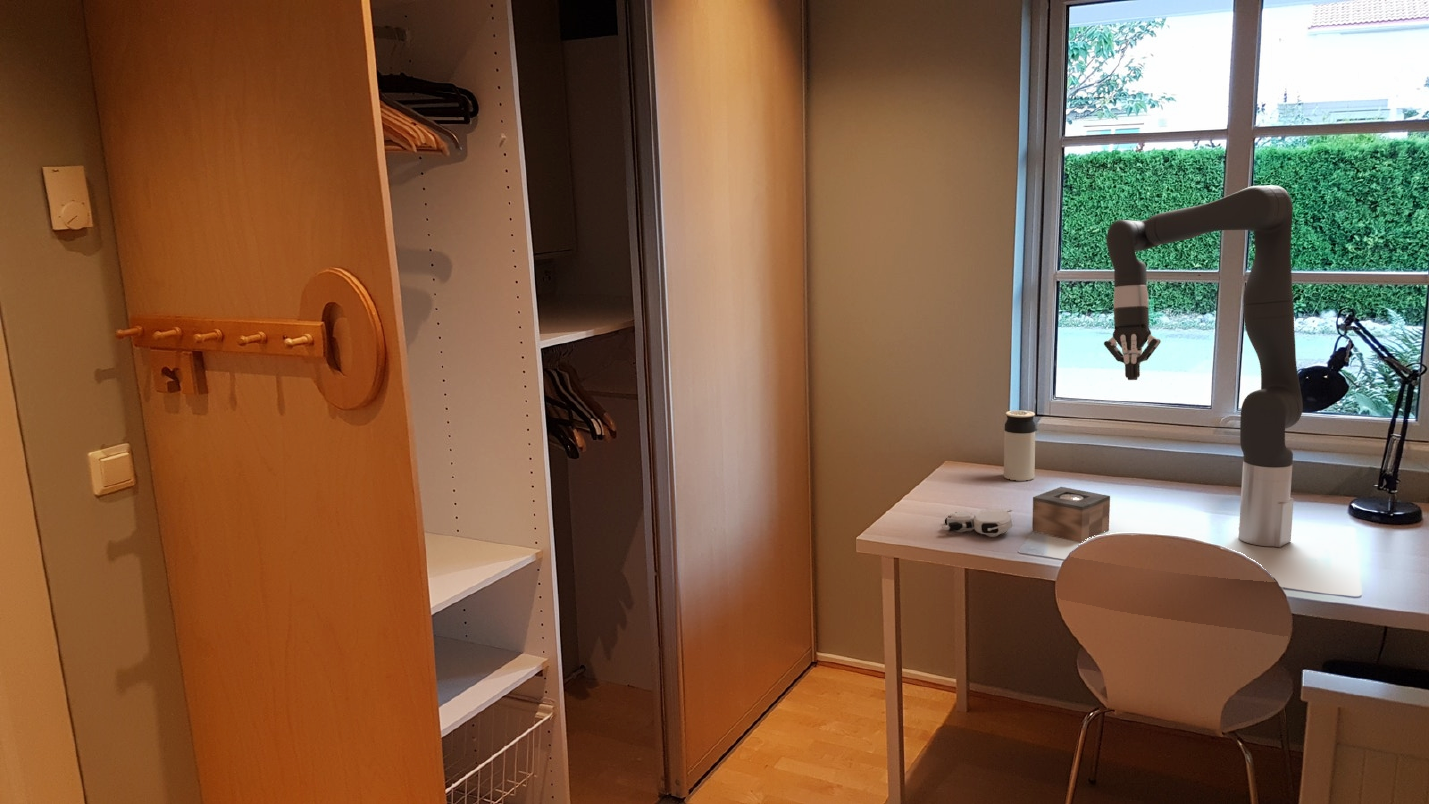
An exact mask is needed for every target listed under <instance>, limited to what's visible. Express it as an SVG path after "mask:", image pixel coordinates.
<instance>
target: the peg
mask: <svg viewBox="0 0 1429 804" xmlns="http://www.w3.org/2000/svg"><path fill="white" fill-rule="evenodd" d="M1060 498H1061V499H1066V500H1071V501H1076V502H1077V501H1079V500H1082V499H1083V497H1082V496H1079V495H1074V494H1065V495H1061V496H1060Z"/></svg>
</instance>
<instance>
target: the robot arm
mask: <svg viewBox="0 0 1429 804" xmlns="http://www.w3.org/2000/svg"><path fill="white" fill-rule="evenodd" d="M1293 209H1294V208H1293V201H1292V197H1291V195H1290V194H1289V192H1288V191H1287V190H1286V188H1283V187H1282V186H1280V185H1273V184H1272V185H1271V184H1270V185H1269V184H1268V185H1252V186H1248V187H1246V188H1244V189H1240V190H1238V191H1236V192H1234V193H1231V194H1229V195H1226V196H1225V197H1222V198H1219V199H1216V200H1213V201H1211V202H1210V201H1209V202H1207V203H1203V204H1199V205H1195V206H1190V207H1189V206H1188V207H1183V208H1179V209H1178V208H1177V209H1174V210H1170V211H1169V210H1167V211H1166V212H1164V211H1163V212H1159V213H1157V214H1154V215H1152V216H1150V217H1148V219H1143V220H1130V219H1118V220H1115V221H1114V222H1113V223H1111V225H1110V226H1109V228H1108V230H1107V233H1106V246H1107V251H1108V254H1109V258H1110V260H1111V264H1112V267H1113V270H1114V274H1113V275H1114V276H1113V278H1114V279H1113V280H1114V281H1113V282H1114V283H1113V284H1114V292H1113V323H1114V326H1113V327H1114V330H1113V333H1112V337H1111V338H1110V339H1109V340H1105V341H1104V342H1103V345H1104V346H1105V348H1106V349H1107V350H1108V351H1109V352H1110V354H1111V355H1112V356H1113V358H1114V359H1115V360H1116V361H1117V362H1120V363H1123V364H1124V372H1125V373H1124V374H1125V377H1126V379H1127V380H1128V381H1137V380H1138V378H1140V375H1141V372H1140V367H1141V366H1140V365H1141V363H1143V362H1145V361H1148V360H1149V358H1150V357H1151V356H1152V354H1153V353H1154V352H1155V350H1156V349H1157V348H1158V346H1160V344H1161V342H1162V341H1161V339H1160V338H1156V337H1155V336H1153V335H1152V331H1151V330H1150V325H1149V324H1150V321H1149V319H1150V316H1149V315H1150V312H1149V308H1150V307H1149V304H1150V300H1149V292H1148V285H1147V284H1148V283H1147V282H1148V281H1147V280H1148V278H1147V277H1148V275H1147V274H1148V273H1147V265H1146V263H1145V262H1144V261H1143V260H1139V259H1138V257H1137V253H1136V252H1139V251H1141V252H1142V251H1145V250H1149V249H1152V248H1155V247H1158V246H1160V245H1166V244H1171V243H1175V242H1181V241H1185V240H1191V239H1193V238H1196V237H1198V236H1201V235H1205V234H1209V233H1213V232H1220V231H1249V232H1250V231H1251V232H1253V235H1254V236H1253V237H1254V258H1253V263H1252V266H1251V269H1250V272H1249V275H1248V278H1247V279H1246V280H1247V281H1246V284H1245V287H1244V291H1243V295H1242V296H1243V298H1242V299H1243V300H1242V304H1243V306H1242V307H1243V319H1244V321H1243V322H1244V327H1245V331H1246V334H1247V337H1248V339H1249V341H1250V343H1251V345H1252V347H1253V349H1254V352H1255V353H1256V356H1257V358H1258V359H1257V360H1258V361H1259V368H1260V389H1258V390H1255V391H1252V392H1250V393H1249V394H1247V396H1246V397H1244V400H1243V402H1242V405H1241V409H1240V416H1239V417H1240V420H1239V421H1240V422H1239V426H1240V427H1239V429H1240V431H1239V433H1240V434H1239V435H1240V436H1239V441H1240V442H1239V443H1240V444H1239V445H1240V448H1241V451H1242V453H1243V455H1242V457H1243V459H1242V460H1243V462H1242V475H1241V491H1240V492H1241V495H1240V506H1239V507H1240V508H1239V509H1240V510H1239V524H1238V526H1239V527H1238V539H1239V540H1240V541H1242V542H1244V543H1247V544H1250V545H1254V546H1255V545H1256V546H1260V547H1276V548H1282V547H1283V546H1285V545H1286V544H1288V543H1290V542H1291V541H1292V527H1293V526H1292V525H1293V514H1294V498H1293V497H1291V491H1292V488H1291V487H1292V476H1293V474H1292V473H1293V464H1294V462H1293V461H1294V453H1293V451H1292V450H1291V449H1289V448H1288V447H1287V446H1286V429H1288V428H1291V427H1293V426H1295V425H1296V424H1297V423H1298V422H1299V421H1300V419H1301V417H1302V415H1303V410H1304V409H1303V407H1304V405H1303V395H1302V391H1301V385H1300V377H1299V374H1298V373H1299V372H1298V367H1297V358H1296V357H1297V355H1296V353H1297V352H1296V337H1295V311H1294V310H1295V308H1294V296H1293V295H1294V293H1293V292H1294V291H1293V281H1292V280H1293V279H1292V278H1293V277H1292V275H1293V274H1292V259H1291V258H1292V256H1291V246H1292V245H1291V244H1292V228H1293V211H1294V210H1293ZM1145 344H1147V346H1146V347H1145V348H1144V350H1143V347H1144V346H1145ZM1117 346H1119V347H1120V348H1121V351H1120V349H1119V348H1118V347H1117Z"/></svg>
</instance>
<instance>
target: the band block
mask: <svg viewBox="0 0 1429 804" xmlns="http://www.w3.org/2000/svg"><path fill="white" fill-rule="evenodd" d="M1065 494H1074V495H1079V496H1082V497H1083V499H1082V500H1079V501H1077V502H1076V501H1071V500H1066V499H1061V498H1060V496H1061V495H1065ZM1110 508H1111V495H1107V494H1101V493H1097V492H1091V491H1086V490H1082V489H1081V490H1080V489H1075V488H1070V487H1066V486H1059V487H1057V488H1054V489H1051V490H1048V491H1046V492H1043V493H1040V494H1038V495H1035V496H1033V497H1032V530H1031V531H1032V532H1035V533H1039V534H1043V535H1047V536H1051V537H1056V538H1061V539H1065V540H1069V541H1074V542H1078V543H1081V542H1082V541H1084V540H1085V539H1087V538H1089V537H1092V536H1094V535H1097V536H1099V535H1102V534H1104V533H1105V532H1104V531H1106V532H1109V531H1110V511H1111V509H1110ZM1084 542H1085V541H1084ZM1082 543H1083V542H1082Z"/></svg>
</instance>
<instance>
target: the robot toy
mask: <svg viewBox="0 0 1429 804" xmlns="http://www.w3.org/2000/svg"><path fill="white" fill-rule="evenodd" d="M1011 512H1013V509H1009V510H1004V509H985V510H982V511H980V512H978V513H976V515H975V514H974V512H971V511H955V512H954V513H950V514H948V515H947V517H946V518H944V525H943V524H942V526H941V528H942V530H944V531H948V530H949V532H956V533H964V532H972V531H973V530H975V532H976V533H978V534H980V535H986V536H987V537H990V538H995V537H998V536H999V535H1001V534H1005V533H1006V532H1007V531H1009V530H1010V529H1011V528H1012V526H1013V521H1012V519H1013V517H1012V514H1011Z"/></svg>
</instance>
